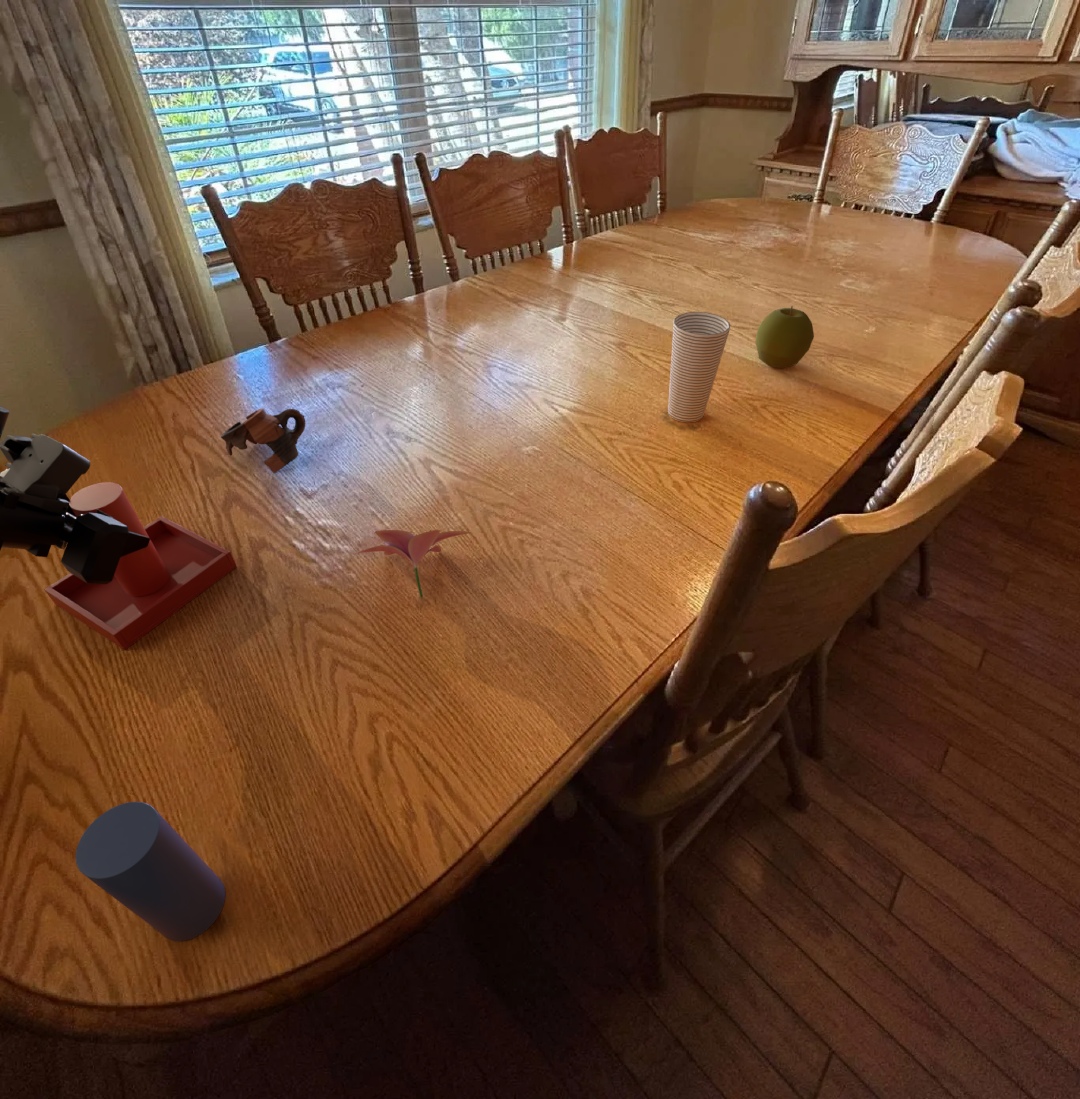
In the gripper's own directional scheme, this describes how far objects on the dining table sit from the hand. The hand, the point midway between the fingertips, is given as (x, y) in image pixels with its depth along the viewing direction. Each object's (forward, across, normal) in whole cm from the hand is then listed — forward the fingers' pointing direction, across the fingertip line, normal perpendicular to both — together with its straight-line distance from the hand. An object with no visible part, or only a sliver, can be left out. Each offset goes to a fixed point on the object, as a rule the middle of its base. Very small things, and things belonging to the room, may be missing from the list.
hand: (133, 534), depth 72 cm
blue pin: (-10, -35, +20) cm, 42 cm away
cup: (+54, -41, -44) cm, 81 cm away
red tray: (+4, 0, +6) cm, 7 cm away
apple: (+73, -49, -62) cm, 107 cm away
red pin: (+4, 0, +6) cm, 7 cm away
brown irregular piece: (+23, +8, -13) cm, 28 cm away
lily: (+17, -27, -7) cm, 32 cm away
